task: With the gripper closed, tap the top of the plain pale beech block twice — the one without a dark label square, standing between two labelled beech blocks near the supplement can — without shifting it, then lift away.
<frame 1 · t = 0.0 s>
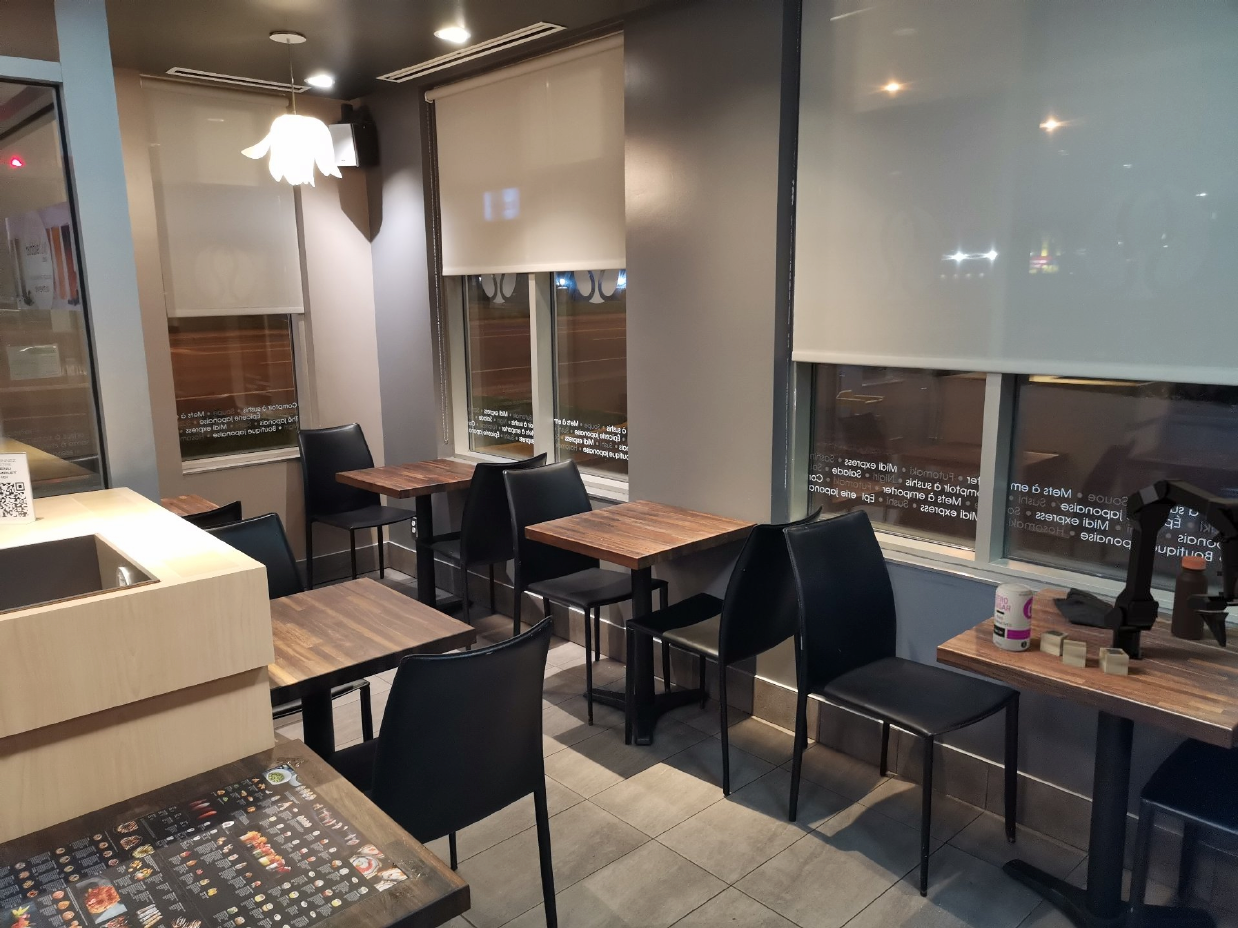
labelled block b: (1112, 670, 196), on the table
labelled block a: (1053, 651, 207), on the table
bottle: (1186, 635, 216), on the table
supplement can: (1010, 646, 211), on the table
dark slate chunk: (1085, 616, 232), on the table
plain block: (1073, 662, 200), on the table
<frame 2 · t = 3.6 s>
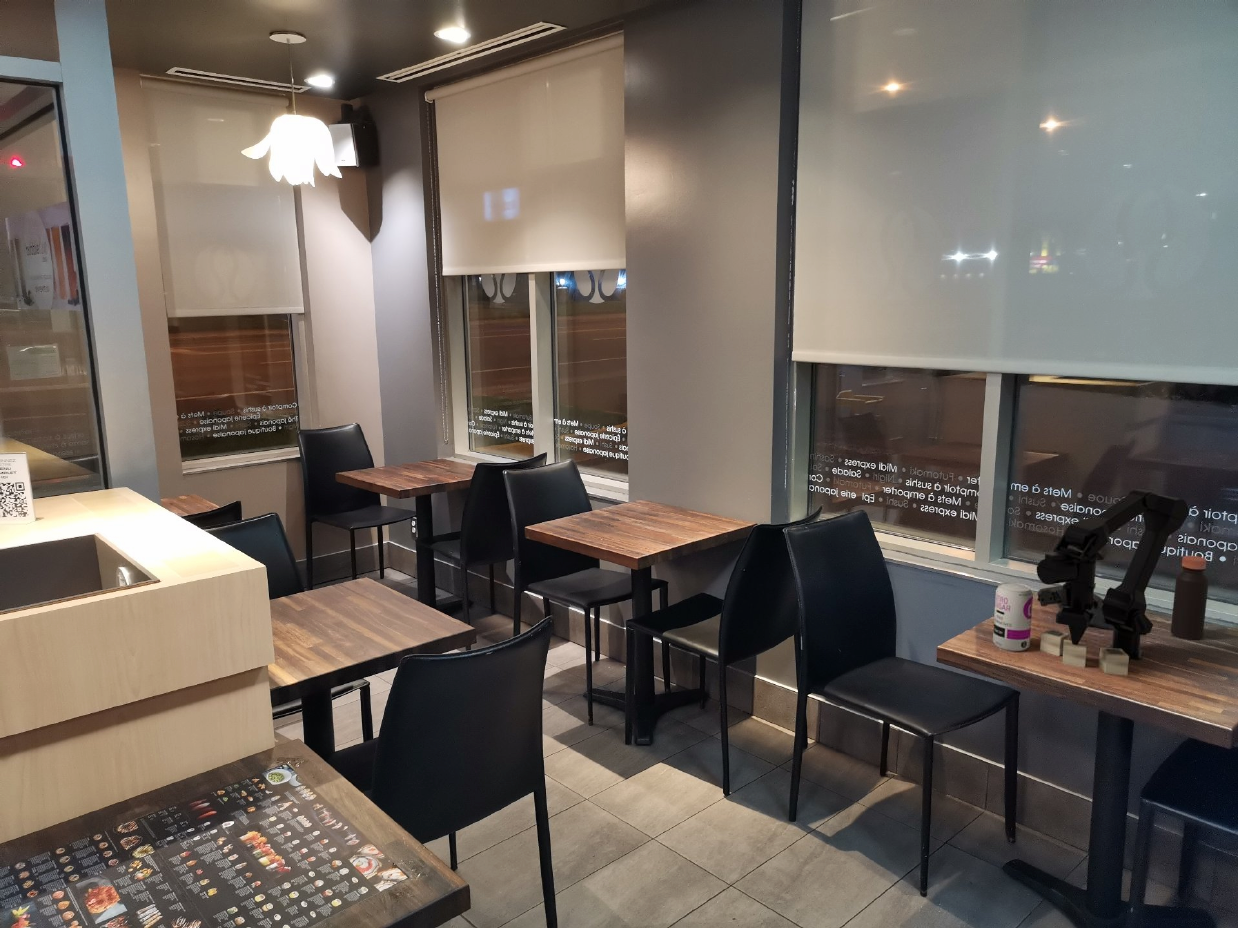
hand: (1075, 644, 200), 4 cm above the table, tool pointing down, fingers closed
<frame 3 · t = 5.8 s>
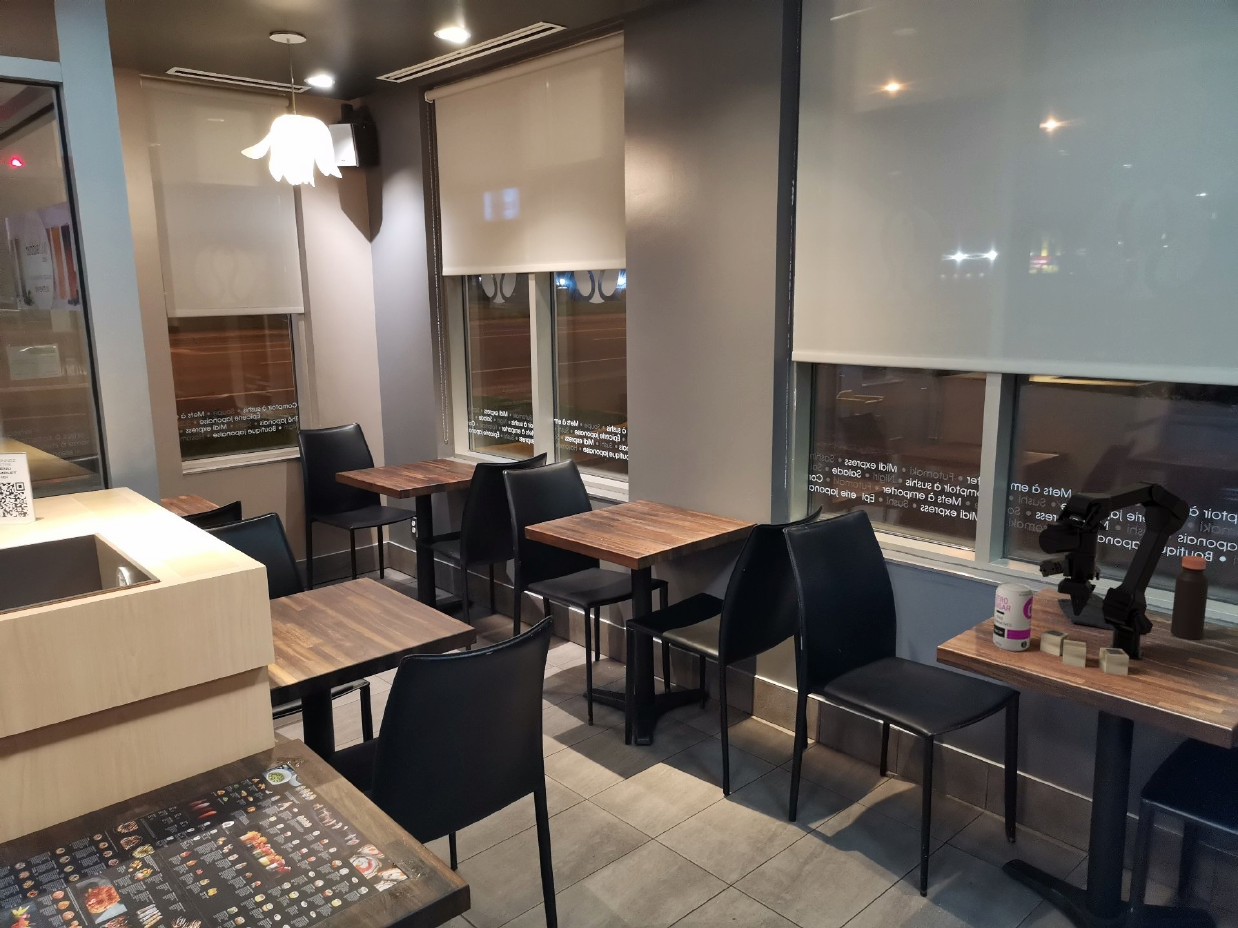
hand: (1076, 615, 198), 11 cm above the table, tool pointing down, fingers closed
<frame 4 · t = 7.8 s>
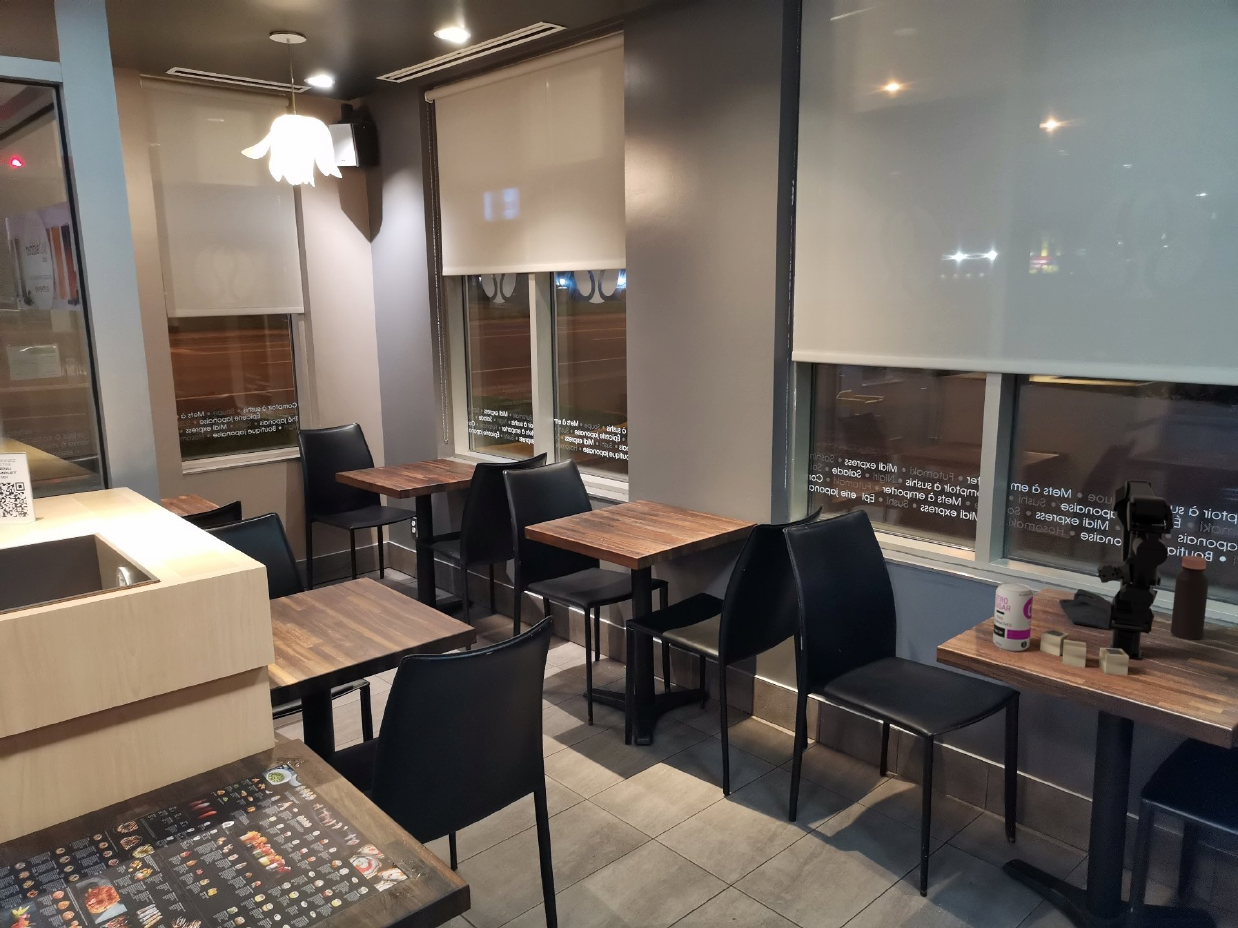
hand: (1137, 622, 190), 12 cm above the table, tool pointing down, fingers closed
at the end: plain block moved 0.1 cm from its start; plain block tilted 0°; plain block touching table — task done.
